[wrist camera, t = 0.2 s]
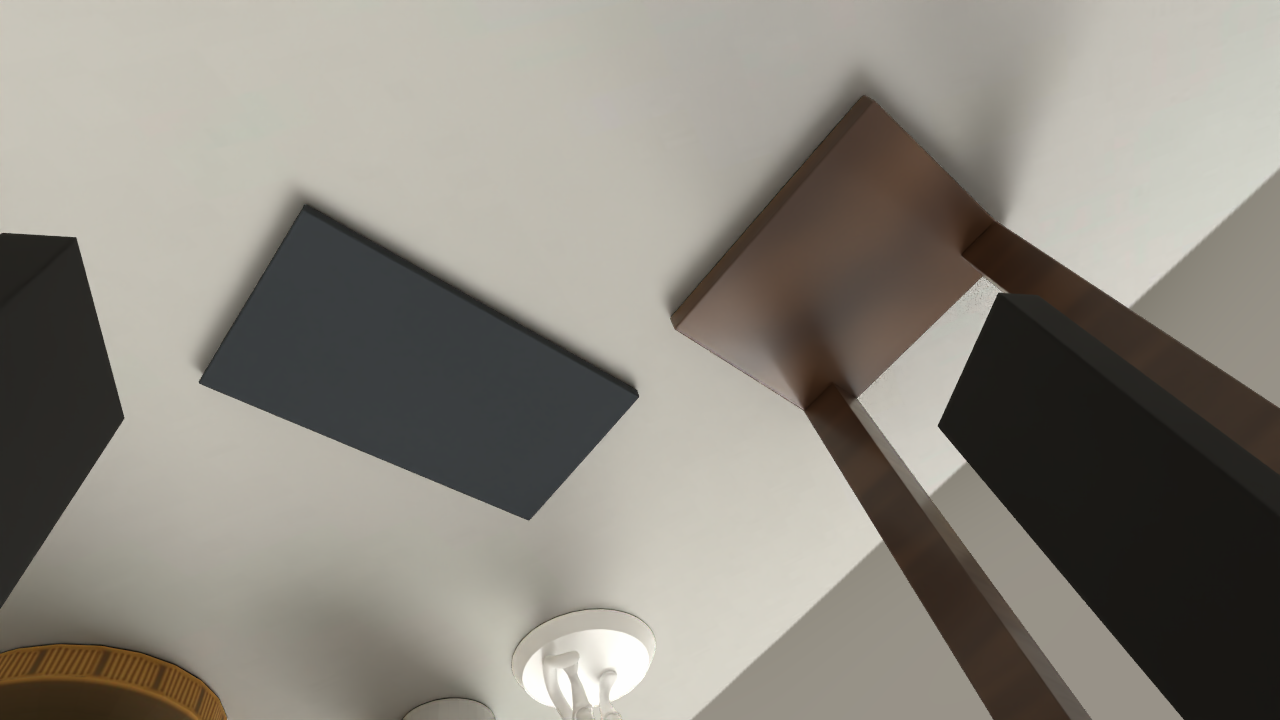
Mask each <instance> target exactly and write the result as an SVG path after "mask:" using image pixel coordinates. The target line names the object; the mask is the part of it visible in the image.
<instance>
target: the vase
mask: <svg viewBox="0 0 1280 720" xmlns="http://www.w3.org/2000/svg"><path fill="white" fill-rule="evenodd" d="M0 720H227V717H226V714H225V712H224V709H223V707H222V705H221V702H220V700H219V698H218V697H217V696H216V695H215V694H214V693H213V692H212V691H211V690H210V689H209V688H208V687H207V686H206V685H205V684H204V683H203V682H202V681H201V680H199V679H198V678H196V677H194V676H192V675H191V674H189V673H187V672H186V671H184V670H182V669H181V668H179V667H177V666H176V665H173V664H170V663H167V662H165V661H162V660H159V659H156V658H153V657H150V656H148V655H145V654H142V653H137V652H132V651H127V650H121V649H116V648H110V647H105V646H93V645H67V644H56V645H47V646H38V647H29V648H19V649H15V650H11V651H8V652H4V653H1V654H0Z"/></svg>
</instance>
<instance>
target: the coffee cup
mask: <svg viewBox="0 0 1280 720" xmlns="http://www.w3.org/2000/svg"><path fill="white" fill-rule="evenodd" d="M402 720H495V717H494V715H493V713H492V712H491V711H490V709H489V708H487V707H486V706H485V705H483V704H481V703H478V702H476V701H472V700H468V699H460V698H449V699H441V700H436V701H432V702H429V703H426V704H423V705H421V706H419V707H417V708H415V709H413V710H412V711H411V712H409V713H408V714H407V715H406V716H405V717H404V718H403V719H402Z"/></svg>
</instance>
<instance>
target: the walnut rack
mask: <svg viewBox="0 0 1280 720" xmlns="http://www.w3.org/2000/svg"><path fill="white" fill-rule="evenodd" d="M982 276H983V277H984V278H986V279H987V280H988V281H990V282H991V283H992V284H993V285H995V286H996V287H997V288H998V289H1000V290H1001V291H1002V292H1004V293H1012V294H1029V295H1039V296H1040V297H1041V298H1043V299H1044V300H1045V301H1047V302H1048V303H1049V304H1051V305H1052V306H1053V307H1055V308H1056V309H1057V310H1059V311H1060V312H1061V313H1063V314H1064V315H1065V316H1067V317H1068V318H1069V319H1071V320H1072V321H1073V322H1075V323H1076V324H1077V325H1079V326H1080V327H1082V328H1083V329H1084V330H1086V331H1087V332H1088V333H1090V334H1091V335H1092V336H1094V337H1095V338H1096V339H1098V340H1099V341H1100V342H1102V343H1103V344H1104V345H1106V346H1107V347H1108V348H1110V349H1111V350H1112V351H1114V352H1115V353H1116V354H1118V355H1119V356H1120V357H1122V358H1123V359H1124V360H1126V361H1127V362H1129V363H1130V364H1131V365H1133V366H1134V367H1135V368H1137V369H1138V370H1139V371H1141V372H1142V373H1143V374H1145V375H1146V376H1147V377H1149V378H1150V379H1151V380H1153V381H1154V382H1155V383H1157V384H1158V385H1159V386H1161V387H1162V388H1163V389H1165V390H1166V391H1167V392H1169V393H1170V394H1171V395H1173V396H1174V397H1176V398H1177V399H1178V400H1180V401H1181V402H1182V403H1184V404H1185V405H1186V406H1188V407H1189V408H1190V409H1192V410H1193V411H1194V412H1196V413H1197V414H1198V415H1200V416H1201V417H1202V418H1204V419H1205V420H1206V421H1208V422H1209V423H1210V424H1212V425H1213V426H1214V427H1216V428H1217V429H1219V430H1220V431H1221V432H1223V433H1224V434H1225V435H1227V436H1228V437H1229V438H1231V439H1232V440H1233V441H1235V442H1236V443H1237V444H1239V445H1240V446H1241V447H1243V448H1244V449H1245V450H1247V451H1248V452H1249V453H1251V454H1252V455H1253V456H1255V457H1256V458H1257V459H1259V460H1260V461H1261V462H1263V463H1264V464H1266V465H1267V466H1268V467H1270V468H1271V469H1272V470H1274V471H1275V472H1276V473H1278V474H1279V475H1280V408H1278V407H1277V406H1276V405H1274V404H1272V403H1271V402H1269V401H1268V400H1266V399H1265V398H1263V397H1262V396H1260V395H1259V394H1257V393H1256V392H1254V391H1253V390H1251V389H1250V388H1248V387H1247V386H1245V385H1244V384H1242V383H1241V382H1239V381H1238V380H1236V379H1235V378H1233V377H1232V376H1230V375H1229V374H1227V373H1226V372H1224V371H1223V370H1221V369H1219V368H1218V367H1217V366H1215V365H1213V364H1212V363H1210V362H1209V361H1207V360H1206V359H1204V358H1203V357H1201V356H1200V355H1198V354H1197V353H1195V352H1194V351H1192V350H1191V349H1189V348H1188V347H1186V346H1185V345H1183V344H1182V343H1180V342H1179V341H1177V340H1176V339H1174V338H1173V337H1171V336H1170V335H1168V334H1166V333H1165V332H1164V331H1162V330H1160V329H1159V328H1157V327H1156V326H1154V325H1153V324H1151V323H1150V322H1148V321H1147V320H1145V319H1144V318H1142V317H1141V316H1139V315H1138V314H1136V313H1135V312H1133V311H1132V310H1130V309H1129V308H1127V307H1126V306H1124V305H1123V304H1121V303H1120V302H1118V301H1117V300H1115V299H1114V298H1112V297H1111V296H1109V295H1107V294H1106V293H1104V292H1103V291H1101V290H1100V289H1098V288H1097V287H1095V286H1094V285H1092V284H1091V283H1089V282H1088V281H1086V280H1085V279H1083V278H1082V277H1080V276H1079V275H1077V274H1076V273H1074V272H1073V271H1071V270H1070V269H1068V268H1067V267H1065V266H1064V265H1062V264H1061V263H1059V262H1058V261H1056V260H1054V259H1053V258H1051V257H1050V256H1048V255H1047V254H1045V253H1044V252H1042V251H1041V250H1039V249H1038V248H1036V247H1035V246H1033V245H1032V244H1030V243H1029V242H1027V241H1026V240H1024V239H1023V238H1021V237H1020V236H1018V235H1017V234H1015V233H1014V232H1012V231H1011V230H1009V229H1008V228H1006V227H1005V226H1003V225H1001V224H1000V223H998V222H997V221H995V220H994V219H993V218H992V217H991V216H990V215H989V214H988V213H987V212H986V211H985V210H984V209H983V208H982V207H981V206H980V205H979V204H978V203H977V202H976V201H975V200H974V199H973V198H972V197H971V196H970V195H969V194H968V193H967V192H966V191H965V190H964V189H963V188H962V187H961V186H960V185H959V184H958V183H957V182H956V181H955V180H954V179H953V178H952V177H951V176H950V175H949V174H948V173H947V172H946V171H945V170H944V169H943V168H942V167H941V166H940V165H939V164H938V163H937V162H936V161H935V160H934V159H933V158H932V157H931V156H930V155H929V154H928V153H927V152H926V151H925V150H924V149H923V148H922V147H921V146H920V145H919V144H918V143H917V142H916V141H915V140H914V139H913V138H912V137H911V136H910V135H909V134H908V133H907V132H906V131H905V130H904V129H903V128H902V127H901V126H900V125H899V124H898V123H897V122H896V121H895V120H894V119H893V118H892V117H891V116H890V115H889V114H888V113H887V112H886V111H885V110H884V109H883V108H882V107H881V106H880V105H879V104H878V103H877V102H876V101H875V100H873V99H871V98H869V97H867V96H866V95H863V96H862V97H861V98H860V99H859V100H858V102H857V103H856V104H855V105H854V106H853V107H852V108H851V110H850V111H849V112H848V113H847V114H846V115H845V117H844V118H843V119H842V120H841V121H840V122H839V124H838V125H837V126H836V127H835V128H834V129H833V130H832V132H831V133H830V134H829V135H828V136H827V137H826V139H825V140H824V141H823V142H822V143H821V144H820V145H819V147H818V148H817V149H816V150H815V151H814V152H813V154H812V155H811V156H810V157H809V158H808V159H807V160H806V162H805V163H804V164H803V165H802V166H801V167H800V169H799V170H798V171H797V172H796V173H795V174H794V176H793V177H792V178H791V179H790V180H789V181H788V182H787V184H786V185H785V186H784V187H783V188H782V189H781V191H780V192H779V193H778V194H777V195H776V196H775V197H774V199H773V200H772V201H771V202H770V203H769V204H768V206H767V207H766V208H765V209H764V210H763V211H762V212H761V214H760V215H759V216H758V217H757V218H756V219H755V221H754V222H753V223H752V224H751V225H750V226H749V228H748V229H747V230H746V231H745V232H744V233H743V234H742V236H741V237H740V238H739V239H738V240H737V241H736V243H735V244H734V245H733V246H732V247H731V248H730V249H729V251H728V252H727V253H726V254H725V255H724V256H723V258H722V259H721V260H720V261H719V262H718V263H717V264H716V266H715V267H714V268H713V269H712V270H711V271H710V273H709V274H708V275H707V276H706V277H705V278H704V280H703V281H702V282H701V283H700V284H699V285H698V286H697V288H696V289H695V290H694V291H693V292H692V293H691V295H690V296H689V297H688V298H687V299H686V300H685V301H684V303H683V304H682V305H681V306H680V307H679V308H678V310H677V311H676V312H675V313H674V314H673V315H672V316H671V318H670V319H671V321H672V324H673V326H674V328H675V330H677V331H679V332H680V333H682V334H683V335H685V336H687V337H688V338H690V339H691V340H693V341H694V342H696V343H698V344H699V345H701V346H702V347H704V348H706V349H707V350H709V351H710V352H712V353H713V354H715V355H717V356H718V357H720V358H721V359H723V360H725V361H726V362H728V363H729V364H731V365H733V366H734V367H736V368H737V369H739V370H740V371H742V372H744V373H745V374H747V375H748V376H750V377H752V378H753V379H755V380H756V381H758V382H759V383H761V384H763V385H764V386H766V387H767V388H769V389H771V390H772V391H774V392H775V393H777V394H778V395H780V396H782V397H783V398H785V399H786V400H788V401H790V402H791V403H793V404H794V405H796V406H797V407H799V408H801V409H802V410H804V412H805V414H806V415H807V417H808V418H809V420H810V422H811V423H812V425H813V427H814V428H815V430H816V431H817V433H818V435H819V436H820V438H821V440H822V441H823V443H824V445H825V446H826V448H827V449H828V451H829V453H830V454H831V456H832V458H833V459H834V461H835V462H836V464H837V466H838V467H839V469H840V471H841V472H842V474H843V475H844V477H845V479H846V480H847V482H848V484H849V485H850V487H851V488H852V490H853V492H854V493H855V495H856V497H857V498H858V500H859V501H860V503H861V505H862V506H863V508H864V510H865V511H866V513H867V515H868V516H869V518H870V519H871V521H872V523H873V524H874V526H875V528H876V529H877V531H878V532H879V534H880V536H881V537H882V539H883V541H884V542H885V544H886V545H887V547H888V548H889V550H890V552H891V554H892V555H893V557H894V558H895V560H896V562H897V563H898V565H899V566H900V568H901V570H902V571H903V573H904V575H905V576H906V578H907V580H908V581H909V583H910V585H911V586H912V588H913V589H914V591H915V592H916V594H917V596H918V597H919V599H920V601H921V602H922V604H923V606H924V607H925V609H926V611H927V612H928V614H929V615H930V617H931V619H932V620H933V622H934V624H935V625H936V627H937V628H938V630H939V632H940V633H941V635H942V637H943V638H944V640H945V641H946V643H947V645H948V646H949V648H950V650H951V651H952V653H953V654H954V656H955V658H956V659H957V661H958V663H959V664H960V666H961V668H962V669H963V670H964V672H965V674H966V676H967V677H968V679H969V680H970V682H971V684H972V685H973V687H974V689H975V690H976V692H977V694H978V695H979V697H980V698H981V700H982V702H983V703H984V705H985V707H986V708H987V710H988V711H989V713H990V715H991V716H992V718H993V720H1092V719H1091V718H1090V716H1089V715H1088V714H1087V712H1086V711H1085V709H1084V708H1083V707H1082V705H1081V704H1080V703H1079V701H1078V700H1077V699H1076V697H1075V696H1074V694H1073V693H1072V692H1071V690H1070V689H1069V687H1068V686H1067V685H1066V683H1065V682H1064V681H1063V679H1062V678H1061V677H1060V675H1059V674H1058V672H1057V671H1056V670H1055V668H1054V667H1053V666H1052V664H1051V663H1050V662H1049V660H1048V659H1047V657H1046V656H1045V655H1044V653H1043V652H1042V651H1041V649H1040V648H1039V646H1038V645H1037V644H1036V642H1035V641H1034V640H1033V638H1032V637H1031V636H1030V634H1029V633H1028V631H1027V630H1026V629H1025V628H1024V626H1023V625H1022V624H1021V622H1020V620H1019V619H1018V618H1017V616H1016V615H1015V614H1014V613H1013V611H1012V610H1011V608H1010V607H1009V605H1008V604H1007V603H1006V602H1005V600H1004V599H1003V597H1002V596H1001V594H1000V593H999V592H998V590H997V589H996V588H995V587H994V585H993V584H992V582H991V581H990V579H989V578H988V577H987V575H986V574H985V573H984V571H983V570H982V569H981V567H980V566H979V564H978V563H977V562H976V560H975V559H974V558H973V556H972V555H971V553H970V552H969V551H968V549H967V548H966V547H965V545H964V544H963V543H962V541H961V540H960V539H959V537H958V536H957V534H956V533H955V532H954V530H953V529H952V527H951V526H950V525H949V523H948V522H947V521H946V519H945V518H944V517H943V515H942V514H941V512H940V511H939V510H938V508H937V507H936V506H935V504H934V503H933V502H932V501H931V499H930V497H929V496H928V495H927V493H926V492H925V491H924V489H923V488H922V486H921V485H920V484H919V482H918V481H917V480H916V478H915V477H914V476H913V474H912V473H911V471H910V470H909V469H908V467H907V466H906V465H905V463H904V462H903V460H902V459H901V458H900V456H899V455H898V454H897V452H896V451H895V450H894V448H893V447H892V445H891V444H890V443H889V441H888V440H887V439H886V437H885V436H884V435H883V433H882V432H881V430H880V429H879V428H878V426H877V425H876V424H875V422H874V421H873V419H872V418H871V417H870V415H869V414H868V413H867V411H866V410H865V409H864V407H863V406H862V404H861V403H860V402H859V400H858V399H857V398H858V397H859V396H860V395H861V394H862V393H863V392H864V391H865V390H866V389H867V388H868V387H869V386H870V385H871V384H872V383H873V382H874V381H875V380H876V379H877V378H878V377H879V376H880V375H881V374H882V373H883V372H884V371H885V370H886V369H887V368H888V367H890V366H891V365H892V364H893V363H894V362H895V361H896V360H897V359H898V358H899V357H900V356H901V355H902V354H903V353H904V352H905V351H906V350H907V349H908V348H909V347H910V346H911V345H912V344H913V343H914V342H915V341H916V340H917V339H918V338H919V337H920V336H921V335H923V334H924V333H925V332H926V331H927V330H928V329H929V328H930V327H931V326H932V325H933V324H934V323H935V322H936V321H937V320H938V319H939V318H940V317H941V316H942V315H943V314H944V313H945V312H946V311H947V310H948V309H949V308H950V307H951V306H952V305H953V304H954V303H956V302H957V301H958V300H959V299H960V298H961V297H962V296H963V295H964V294H965V293H966V292H967V291H968V290H969V289H970V288H971V287H972V286H973V285H974V284H975V283H976V282H977V281H978V280H979V279H980V278H981V277H982Z"/></svg>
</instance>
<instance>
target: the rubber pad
mask: <svg viewBox="0 0 1280 720" xmlns="http://www.w3.org/2000/svg"><path fill="white" fill-rule="evenodd" d="M199 383H200V384H202V385H204V386H206V387H209V388H211V389H214V390H216V391H218V392H221V393H223V394H226V395H228V396H230V397H233V398H235V399H238V400H240V401H242V402H245V403H247V404H250V405H252V406H254V407H257V408H259V409H262V410H264V411H266V412H269V413H271V414H274V415H276V416H278V417H281V418H283V419H286V420H288V421H291V422H293V423H295V424H298V425H300V426H303V427H305V428H307V429H310V430H312V431H315V432H317V433H319V434H322V435H324V436H327V437H329V438H331V439H334V440H336V441H339V442H341V443H343V444H346V445H348V446H351V447H353V448H355V449H358V450H360V451H363V452H365V453H367V454H370V455H372V456H375V457H377V458H380V459H382V460H384V461H387V462H389V463H392V464H394V465H396V466H399V467H401V468H404V469H406V470H408V471H411V472H413V473H416V474H418V475H420V476H423V477H425V478H428V479H430V480H432V481H435V482H437V483H440V484H442V485H444V486H447V487H449V488H452V489H454V490H456V491H459V492H461V493H464V494H466V495H469V496H471V497H473V498H476V499H478V500H481V501H483V502H485V503H488V504H490V505H493V506H495V507H497V508H500V509H502V510H505V511H507V512H509V513H512V514H514V515H517V516H519V517H521V518H524V519H526V520H530V519H531V518H532V517H533V516H534V515H535V514H536V512H537V511H538V510H539V509H540V508H541V507H542V506H543V505H544V503H545V502H546V501H547V500H548V499H549V498H550V497H551V496H552V494H553V493H554V492H555V491H556V490H557V489H558V488H559V487H560V485H561V484H562V483H563V482H564V481H565V480H566V479H567V478H568V476H569V475H570V474H571V473H572V472H573V471H574V470H575V469H576V468H577V466H578V465H579V464H580V463H581V462H582V461H583V460H584V459H585V457H586V456H587V455H588V454H589V453H590V452H591V451H592V450H593V448H594V447H595V446H596V445H597V444H598V443H599V442H600V441H601V439H602V438H603V437H604V436H605V435H606V434H607V433H608V432H609V430H610V429H611V428H612V427H613V426H614V425H615V424H616V423H617V421H618V420H619V419H620V418H621V417H622V416H623V415H624V414H625V412H626V411H627V410H628V409H629V408H630V407H631V406H632V405H633V403H634V402H635V401H636V400H637V399H638V398H639V394H638V391H637V390H636V389H634V388H633V387H631V386H629V385H627V384H625V383H624V382H622V381H620V380H618V379H617V378H615V377H613V376H611V375H609V374H608V373H606V372H604V371H602V370H600V369H599V368H597V367H595V366H593V365H592V364H590V363H588V362H586V361H584V360H583V359H581V358H579V357H577V356H576V355H574V354H572V353H570V352H568V351H567V350H565V349H563V348H561V347H559V346H558V345H556V344H554V343H552V342H551V341H549V340H547V339H545V338H543V337H542V336H540V335H538V334H536V333H535V332H533V331H531V330H529V329H527V328H526V327H524V326H522V325H520V324H518V323H517V322H515V321H513V320H511V319H510V318H508V317H506V316H504V315H502V314H501V313H499V312H497V311H495V310H494V309H492V308H490V307H488V306H486V305H485V304H483V303H481V302H479V301H477V300H476V299H474V298H472V297H470V296H469V295H467V294H465V293H463V292H461V291H460V290H458V289H456V288H454V287H453V286H451V285H449V284H447V283H445V282H444V281H442V280H440V279H438V278H436V277H435V276H433V275H431V274H429V273H428V272H426V271H424V270H422V269H420V268H419V267H417V266H415V265H413V264H412V263H410V262H408V261H406V260H404V259H403V258H401V257H399V256H397V255H395V254H394V253H392V252H390V251H388V250H387V249H385V248H383V247H381V246H379V245H378V244H376V243H374V242H372V241H371V240H369V239H367V238H365V237H363V236H362V235H360V234H358V233H356V232H354V231H353V230H351V229H349V228H347V227H346V226H344V225H342V224H340V223H338V222H337V221H335V220H333V219H331V218H330V217H328V216H326V215H324V214H322V213H321V212H319V211H317V210H315V209H313V208H312V207H310V206H308V205H304V206H303V208H302V210H301V211H300V213H299V215H298V216H297V218H296V220H295V221H294V223H293V225H292V226H291V228H290V230H289V231H288V233H287V235H286V236H285V238H284V240H283V241H282V243H281V245H280V246H279V248H278V250H277V251H276V253H275V255H274V257H273V258H272V260H271V262H270V263H269V265H268V267H267V268H266V270H265V272H264V273H263V275H262V277H261V278H260V280H259V282H258V283H257V285H256V287H255V288H254V290H253V292H252V293H251V295H250V297H249V298H248V300H247V302H246V303H245V305H244V307H243V308H242V310H241V312H240V313H239V315H238V317H237V318H236V320H235V322H234V323H233V325H232V327H231V328H230V330H229V332H228V333H227V335H226V337H225V338H224V340H223V342H222V343H221V345H220V347H219V348H218V350H217V352H216V353H215V355H214V357H213V358H212V360H211V362H210V363H209V365H208V367H207V368H206V370H205V372H204V373H203V375H202V377H201V379H200V381H199Z"/></svg>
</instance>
